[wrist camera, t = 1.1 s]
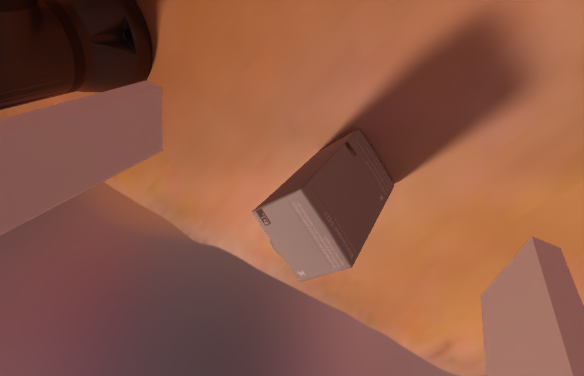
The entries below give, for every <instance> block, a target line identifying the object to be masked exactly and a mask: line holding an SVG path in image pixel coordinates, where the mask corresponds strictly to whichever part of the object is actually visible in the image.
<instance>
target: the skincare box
mask: <svg viewBox="0 0 584 376" xmlns="http://www.w3.org/2000/svg"><path fill="white" fill-rule="evenodd" d="M393 187H394V183H393V182H392V180H391V179H390V177H389V175H388V173H387V172H386V170H385V168H384V166H383V165H382V163H381V161H380V160H379V158H378V157H377V155H376V153H375V152H374V150H373V149H372V147H371V146H370V144H369V142H368V141H367V140H366V138H365V137H364V135H363V134H362V132H361V131H360V130H359V129H357V130H355V131H353V132H351V133H350V134H348V135H346V136H345V137H343V138H341V139H339V140H338V141H336V142H334V143H333V144H331V145H329V146H327V147H326V148H324V149H322V150H320V151H319V152H318V153H316V154H315V155H314V156H313V157H312V158H311V159H310V160H309V161H307V162H306V163H305V164H304V165H303V166H302V167H301V168H300V169H299V170H298V171H297V172H295V173H294V174H293V175H292V176H291V177H290V178H289V179H288V180H287V181H286V182H285V183H283V184H282V185H281V186H280V187H279V188H278V189H277V190H276V191H275V192H274V193H272V194H271V195H270V196H269V197H268V198H267V199H266V200H265V201H264V202H262V203H261V204H260V205H259V206H258V207H257V208H256V209H254V210H253V211H252V214H253V215H254V216H255V218H256V219H257V221H258V222H259V224H260V225H261V226H262V228H263V229H264V231H265V232H266V234H267V235H268V237H269V238H270V242H271V245H272V247H273V249H274V250H275V251H276V252H277V253H278V254H279V255H281V256H282V257H283V259H284V260H285V262H286V263H287V265H288V266H289V267H290V269H291V270H292V272H293V273H294V275H295V276H296V278H297V279H298V281H300V282H301V281H305V280H308V279H312V278H316V277H319V276H323V275H327V274H330V273H335V272H339V271H343V270H346V269H350V268H352V266H353V264H354V262H355V260H356V258H357V257H358V255H359V253H360V251H361V249H362V247H363V245H364V243H365V241H366V239H367V237H368V235H369V233H370V232H371V230H372V228H373V226H374V224H375V222H376V220H377V218H378V216H379V214H380V212H381V211H382V209H383V207H384V205H385V203H386V201H387V199H388V197H389V195H390V193H391V191H392V189H393Z"/></svg>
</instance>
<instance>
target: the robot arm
mask: <svg viewBox="0 0 584 376" xmlns="http://www.w3.org/2000/svg"><path fill="white" fill-rule="evenodd" d="M151 59H152V51H151V42H150V37H149V33H148V29H147V26H146V23H145V21H144V18H143V16H142V14H141V12H140V10H139V8H138V6H137V5H136V3H135V1H134V0H0V110H3V109H7V108H11V107H15V106H19V105H23V104H27V103H31V102H35V101H39V100H43V99H47V98H51V97H55V96H59V95H62V94H66V93H71V92H75V91H81V92H101V93H97V94H94V95H90V96H86V97H83V98H79V99H75V100H72V101H68V102H64V103H60V104H57V105H53V106H49V107H46V108H42V109H38V110H35V111H31V112H27V113H23V114H20V115H16V116H12V117H9V118H5V119H1V120H0V235H2V234H4V233H6V232H8V231H9V230H11V229H13V228H15V227H17V226H19V225H21V224H23V223H25V222H27V221H29V220H31V219H32V218H34V217H36V216H38V215H40V214H42V213H44V212H46V211H48V210H50V209H52V208H53V207H55V206H57V205H59V204H61V203H63V202H65V201H67V200H69V199H71V198H73V197H75V196H77V195H78V194H80V193H82V192H84V191H86V190H88V189H90V188H92V187H94V186H96V185H98V184H100V183H101V182H103V181H105V180H107V179H109V178H111V177H113V176H115V175H117V174H119V173H121V172H123V171H124V170H126V169H128V168H130V167H132V166H134V165H136V164H138V163H140V162H142V161H144V160H146V159H148V158H149V157H151V156H153V155H155V154H157V153H159V152H161V151H163V142H162V87H161V86H158V85H156V84H153V83H151V82H148V81H145V80H146V79H147V77H148V74H149V71H150V67H151ZM481 308H482V322H483V337H484V351H485V365H486V376H584V306H583V304H582V301H581V299H580V296H579V294H578V291H577V289H576V286H575V284H574V281H573V278H572V276H571V273H570V271H569V268H568V266H567V263H566V261H565V258H564V256H563V253H562V251H561V248H559V247H557V246H554V245H552V244H549V243H547V242H544V241H542V240H539V239H537V238H534V237H531V238H530V239H529V240H528V241H527V242H526V244H525V245H524V246H523V247H522V248H521V249H520V251H519V252H518V253H517V254H516V255H515V256H514V258H513V259H512V260H511V261H510V262H509V263H508V265H507V266H506V267H505V268H504V269H503V270H502V272H501V273H500V274H499V275H498V276H497V277H496V278H495V280H494V281H493V282H492V283H491V284H490V285H489V287H488V288H487V289H486V290H485V291H484V292H483V294H482V295H481Z"/></svg>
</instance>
